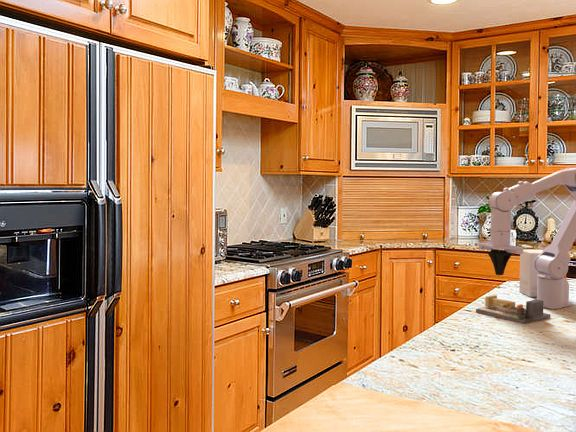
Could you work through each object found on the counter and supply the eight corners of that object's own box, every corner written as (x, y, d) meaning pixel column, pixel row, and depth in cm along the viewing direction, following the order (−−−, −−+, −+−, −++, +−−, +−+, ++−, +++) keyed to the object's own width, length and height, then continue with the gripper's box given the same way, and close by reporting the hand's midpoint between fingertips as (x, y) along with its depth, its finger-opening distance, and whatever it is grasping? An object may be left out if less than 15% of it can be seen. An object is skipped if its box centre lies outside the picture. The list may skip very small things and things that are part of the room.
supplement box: (556, 297, 183) (557, 252, 182) (529, 297, 183) (530, 252, 182) (544, 291, 192) (545, 249, 191) (518, 291, 192) (519, 249, 191)
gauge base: (501, 307, 170) (502, 289, 169) (550, 318, 156) (550, 299, 156) (476, 312, 163) (476, 294, 163) (524, 324, 150) (525, 304, 149)
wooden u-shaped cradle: (493, 304, 167) (494, 294, 167) (517, 309, 160) (517, 299, 160) (481, 306, 164) (482, 297, 164) (505, 312, 157) (505, 302, 157)
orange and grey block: (520, 314, 154) (520, 304, 154) (524, 315, 153) (524, 304, 153) (515, 315, 153) (515, 305, 153) (519, 316, 152) (519, 305, 152)
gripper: (472, 229, 173) (471, 272, 174) (513, 233, 161) (512, 279, 162) (487, 228, 177) (486, 270, 178) (528, 232, 164) (526, 277, 165)
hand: (499, 274), depth 170 cm, fingers closed
